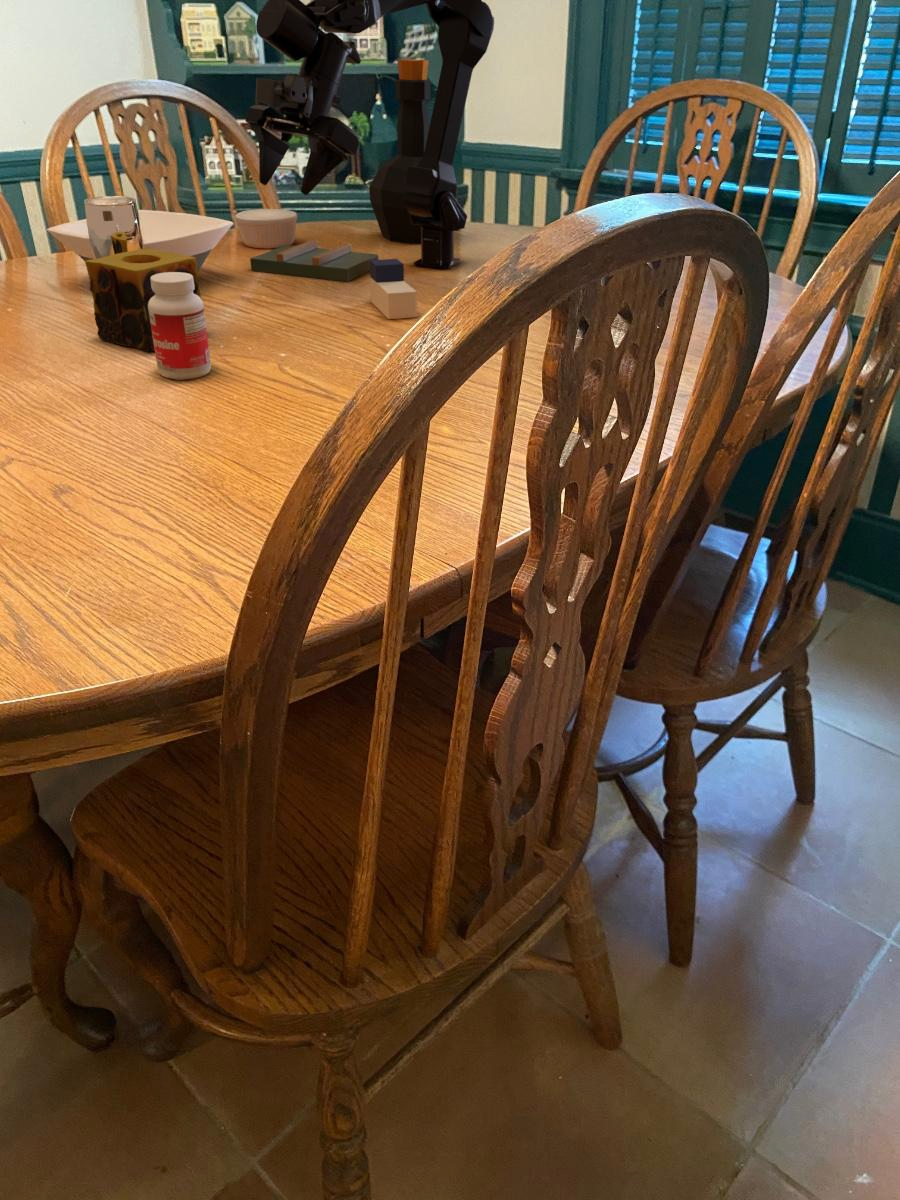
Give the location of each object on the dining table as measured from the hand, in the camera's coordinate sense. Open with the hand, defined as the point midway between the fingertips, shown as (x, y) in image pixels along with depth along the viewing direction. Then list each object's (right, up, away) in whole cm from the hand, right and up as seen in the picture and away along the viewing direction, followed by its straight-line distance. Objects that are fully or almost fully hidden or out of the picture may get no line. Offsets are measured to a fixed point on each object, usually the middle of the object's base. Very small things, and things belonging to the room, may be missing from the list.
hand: (282, 188), depth 131 cm
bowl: (-24, -9, +14) cm, 29 cm away
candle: (-15, -25, -12) cm, 32 cm away
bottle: (+17, +12, +47) cm, 51 cm away
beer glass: (-21, -19, -3) cm, 29 cm away
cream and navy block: (+16, -17, +2) cm, 23 cm away
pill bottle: (-7, -33, -23) cm, 41 cm away
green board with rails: (+1, -3, +23) cm, 23 cm away
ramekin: (-10, +7, +39) cm, 41 cm away
